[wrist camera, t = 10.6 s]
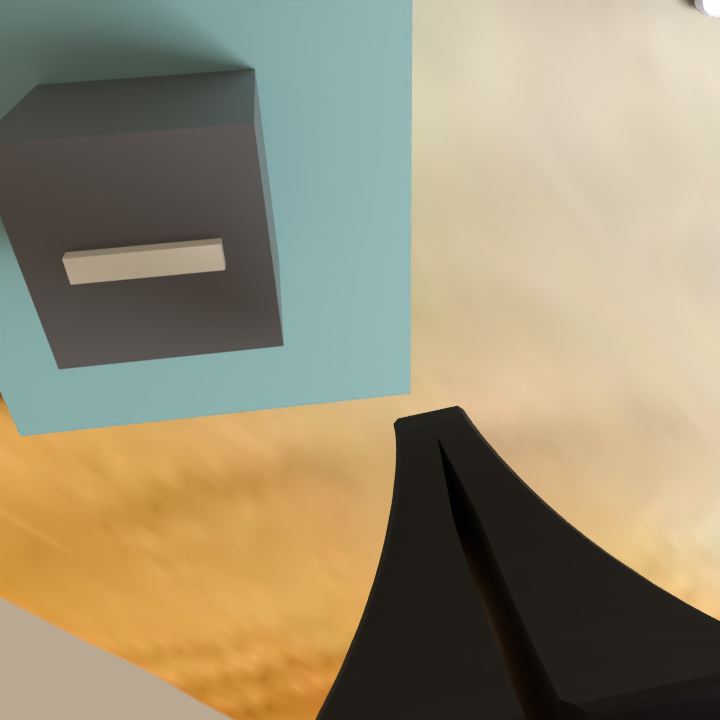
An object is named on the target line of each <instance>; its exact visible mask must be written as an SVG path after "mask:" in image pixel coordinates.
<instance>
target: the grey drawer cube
mask: <svg viewBox="0 0 720 720" xmlns="http://www.w3.org/2000/svg"><path fill="white" fill-rule="evenodd" d="M0 217H1V220H2V222H3V225H4V228H5V230H6V233H7V235H8V238H9V241H10V243H11V246H12V249H13V251H14V254H15V256H16V259H17V262H18V264H19V267H20V269H21V272H22V275H23V277H24V280H25V283H26V285H27V288H28V290H29V293H30V296H31V298H32V301H33V304H34V306H35V309H36V311H37V314H38V317H39V319H40V322H41V324H42V327H43V330H44V332H45V335H46V338H47V340H48V343H49V345H50V348H51V351H52V353H53V356H54V359H55V361H56V364H57V366H58V369H69V368H79V367H88V366H98V365H107V364H117V363H126V362H136V361H146V360H155V359H165V358H174V357H184V356H193V355H203V354H213V353H222V352H232V351H241V350H251V349H260V348H270V347H280V346H284V341H283V323H282V305H281V286H280V268H279V255H278V247H277V239H276V231H275V223H274V215H273V207H272V199H271V192H270V184H269V176H268V168H267V160H266V152H265V144H264V136H263V128H262V120H261V112H260V105H259V97H258V89H257V81H256V73H255V69H245V70H232V71H218V72H205V73H191V74H178V75H164V76H151V77H137V78H124V79H110V80H97V81H83V82H70V83H56V84H43V85H37V86H36V87H34V88H33V89H32V90H31V91H30V92H29V93H28V94H27V95H26V96H25V97H24V98H23V99H22V100H21V101H20V102H19V103H18V104H17V105H16V106H15V107H13V108H12V109H11V110H10V111H9V112H8V113H7V114H6V115H5V116H4V117H3V118H2V119H1V120H0Z"/></svg>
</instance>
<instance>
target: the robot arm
mask: <svg viewBox="0 0 720 720" xmlns="http://www.w3.org/2000/svg"><path fill="white" fill-rule="evenodd" d="M694 4H695V6H696V9H697V11H699V12H700V13H701V14H703V15H706V16H712V17H719V16H720V0H695V3H694ZM394 429H395V435H396V470H395V480H394V489H393V498H392V505H391V510H390V515H389V521H388V526H387V531H386V536H385V541H384V545H383V549H382V553H381V557H380V561H379V565H378V568H377V572H376V576H375V579H374V582H373V585H372V588H371V591H370V594H369V598H368V601H367V604H366V607H365V610H364V612H363V615H362V618H361V621H360V623H359V626H358V628H357V631H356V633H355V636H354V638H353V640H352V643H351V645H350V648H349V650H348V652H347V655H346V657H345V660H344V662H343V665H342V667H341V669H340V671H339V673H338V675H337V678H336V680H335V682H334V684H333V686H332V688H331V690H330V692H329V694H328V696H327V698H326V700H325V702H324V704H323V706H322V708H321V709H320V711H319V713H318V715H317V718H316V720H720V621H718V620H717V619H715V618H713V617H711V616H709V615H707V614H705V613H703V612H701V611H700V610H698V609H696V608H694V607H692V606H691V605H689V604H687V603H685V602H683V601H682V600H680V599H678V598H677V597H675V596H673V595H672V594H670V593H668V592H667V591H665V590H663V589H662V588H660V587H658V586H657V585H655V584H653V583H652V582H650V581H649V580H647V579H646V578H644V577H643V576H641V575H640V574H638V573H637V572H635V571H634V570H632V569H631V568H629V567H628V566H626V565H625V564H623V563H622V562H620V561H619V560H617V559H616V558H614V557H613V556H611V555H610V554H608V553H607V552H606V551H604V550H603V549H602V548H600V547H599V546H598V545H596V544H595V543H594V542H592V541H591V540H590V539H588V538H587V537H586V536H585V535H583V534H582V533H581V532H580V531H578V530H577V529H576V528H575V527H573V526H572V525H571V524H570V523H568V522H567V521H566V520H565V519H564V518H562V517H561V516H560V515H559V514H558V513H557V512H556V511H554V510H553V509H552V508H551V507H550V506H549V505H548V504H547V503H546V502H545V501H543V500H542V499H541V498H540V497H539V496H538V495H537V494H536V493H535V492H534V491H533V490H532V489H531V488H530V487H529V486H528V485H527V484H526V483H525V482H524V481H523V480H522V479H521V478H520V477H519V476H518V475H517V474H516V473H515V472H514V471H513V470H512V469H511V468H510V467H509V466H508V465H507V464H506V462H505V461H504V460H503V459H502V458H501V457H500V456H499V455H498V454H497V453H496V451H495V450H494V449H493V448H492V447H491V446H490V444H489V443H488V442H487V441H486V440H485V438H484V437H483V436H482V435H481V433H480V432H479V431H478V430H477V428H476V427H475V426H474V424H473V423H472V421H471V420H470V419H469V417H468V416H467V414H466V413H465V411H464V410H463V409H462V408H460V407H459V406H454V407H450V408H445V409H440V410H436V411H431V412H426V413H422V414H417V415H412V416H408V417H403V418H398V419H397V421H396V422H395V423H394Z"/></svg>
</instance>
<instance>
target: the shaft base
mask: <svg viewBox="0 0 720 720" xmlns="http://www.w3.org/2000/svg"><path fill="white" fill-rule="evenodd" d="M245 69H255V73H256V81H257V89H258V97H259V105H260V112H261V120H262V128H263V136H264V144H265V152H266V160H267V168H268V176H269V184H270V192H271V199H272V207H273V215H274V223H275V231H276V239H277V247H278V255H279V268H280V286H281V305H282V323H283V341H284V346H280V347H270V348H260V349H251V350H241V351H232V352H222V353H213V354H203V355H193V356H184V357H174V358H165V359H155V360H146V361H136V362H126V363H117V364H107V365H98V366H88V367H79V368H69V369H58V366H57V364H56V361H55V359H54V356H53V353H52V351H51V348H50V345H49V343H48V340H47V338H46V335H45V332H44V330H43V327H42V324H41V322H40V319H39V317H38V314H37V311H36V309H35V306H34V304H33V301H32V298H31V296H30V293H29V290H28V288H27V285H26V283H25V280H24V277H23V275H22V272H21V269H20V267H19V264H18V262H17V259H16V256H15V254H14V251H13V249H12V246H11V243H10V241H9V238H8V235H7V233H6V230H5V228H4V225H3V222H2V220H1V217H0V392H1V394H2V397H3V399H4V401H5V403H6V405H7V408H8V410H9V412H10V414H11V416H12V419H13V421H14V423H15V425H16V428H17V430H18V432H19V434H20V436H27V435H37V434H46V433H55V432H64V431H73V430H82V429H91V428H101V427H110V426H119V425H128V424H137V423H146V422H156V421H165V420H174V419H183V418H192V417H201V416H210V415H220V414H229V413H238V412H247V411H256V410H265V409H274V408H284V407H293V406H302V405H311V404H320V403H329V402H338V401H348V400H357V399H366V398H375V397H384V396H393V395H402V394H410V351H411V118H412V0H0V120H1V119H2V118H3V117H4V116H5V115H6V114H7V113H8V112H9V111H10V110H11V109H12V108H13V107H15V106H16V105H17V104H18V103H19V102H20V101H21V100H22V99H23V98H24V97H25V96H26V95H27V94H28V93H29V92H30V91H31V90H32V89H33V88H34V87H36V86H37V85H43V84H56V83H70V82H83V81H97V80H110V79H124V78H137V77H151V76H164V75H178V74H191V73H205V72H218V71H232V70H245Z"/></svg>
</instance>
